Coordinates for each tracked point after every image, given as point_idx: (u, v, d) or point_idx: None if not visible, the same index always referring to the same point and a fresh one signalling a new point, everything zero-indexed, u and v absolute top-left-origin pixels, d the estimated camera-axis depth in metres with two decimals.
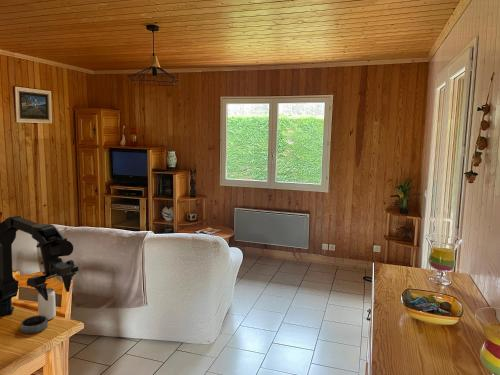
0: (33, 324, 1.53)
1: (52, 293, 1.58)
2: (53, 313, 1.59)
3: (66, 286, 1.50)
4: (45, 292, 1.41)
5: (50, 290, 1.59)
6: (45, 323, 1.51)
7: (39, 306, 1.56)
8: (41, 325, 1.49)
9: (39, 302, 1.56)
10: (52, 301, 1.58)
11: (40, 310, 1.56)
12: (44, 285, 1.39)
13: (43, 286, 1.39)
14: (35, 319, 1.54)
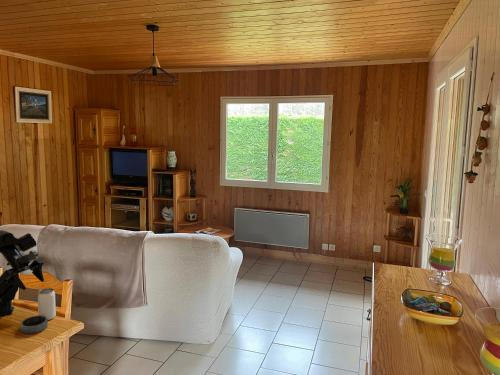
0: (33, 324, 1.53)
1: (52, 293, 1.58)
2: (53, 313, 1.59)
3: (39, 277, 1.64)
4: (20, 282, 1.54)
5: (50, 290, 1.59)
6: (45, 323, 1.51)
7: (39, 306, 1.56)
8: (41, 325, 1.49)
9: (39, 302, 1.56)
10: (52, 301, 1.58)
11: (40, 310, 1.56)
12: (16, 275, 1.53)
13: (16, 276, 1.53)
14: (35, 319, 1.54)
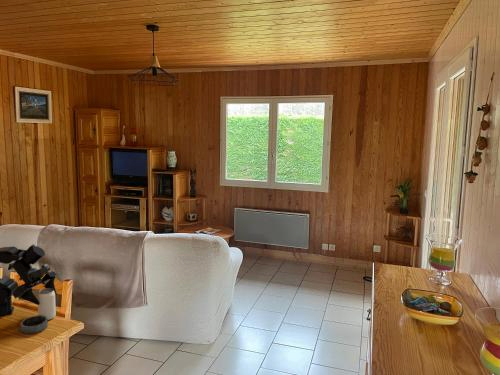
0: (33, 324, 1.53)
1: (52, 293, 1.58)
2: (53, 313, 1.59)
3: None
4: (34, 297, 1.53)
5: (50, 290, 1.59)
6: (45, 323, 1.51)
7: (39, 306, 1.56)
8: (41, 325, 1.49)
9: (39, 302, 1.56)
10: (52, 301, 1.58)
11: (40, 310, 1.56)
12: (30, 290, 1.53)
13: (29, 291, 1.52)
14: (35, 319, 1.54)
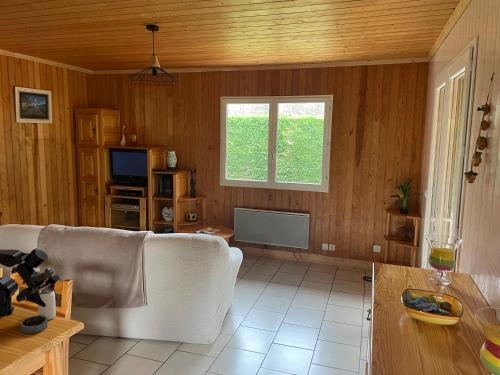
0: (33, 324, 1.53)
1: (51, 293, 1.57)
2: (53, 313, 1.59)
3: None
4: (40, 299, 1.55)
5: (50, 290, 1.59)
6: (45, 323, 1.51)
7: (39, 306, 1.56)
8: (41, 325, 1.49)
9: None
10: (52, 301, 1.58)
11: (40, 310, 1.56)
12: (36, 292, 1.54)
13: (35, 293, 1.54)
14: (35, 319, 1.54)
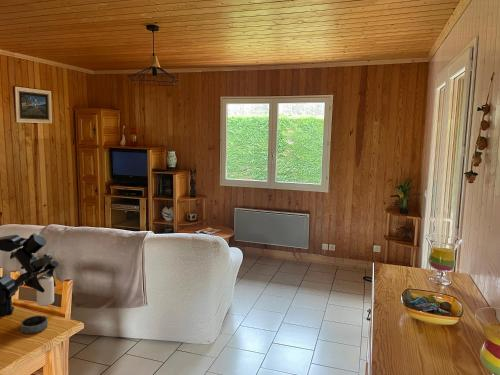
0: (33, 324, 1.53)
1: (50, 278, 1.56)
2: (51, 299, 1.57)
3: None
4: (39, 284, 1.53)
5: (49, 276, 1.58)
6: (45, 323, 1.51)
7: (37, 291, 1.55)
8: (41, 325, 1.49)
9: None
10: (51, 287, 1.56)
11: (38, 295, 1.55)
12: (35, 277, 1.52)
13: (34, 278, 1.52)
14: (35, 319, 1.54)
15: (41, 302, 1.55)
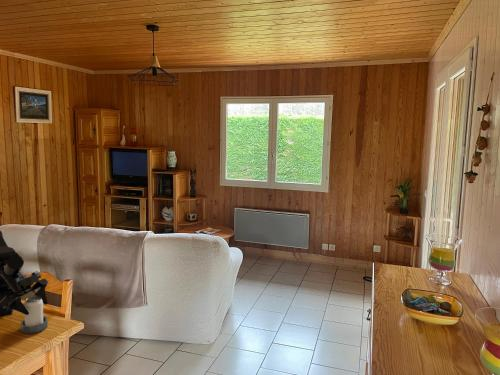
0: None
1: (39, 301, 1.49)
2: (40, 323, 1.50)
3: (43, 300, 1.54)
4: (22, 306, 1.44)
5: (38, 298, 1.50)
6: (45, 323, 1.51)
7: (25, 315, 1.47)
8: (41, 325, 1.49)
9: None
10: (40, 310, 1.49)
11: (26, 319, 1.47)
12: (18, 299, 1.43)
13: (18, 300, 1.43)
14: None
15: None
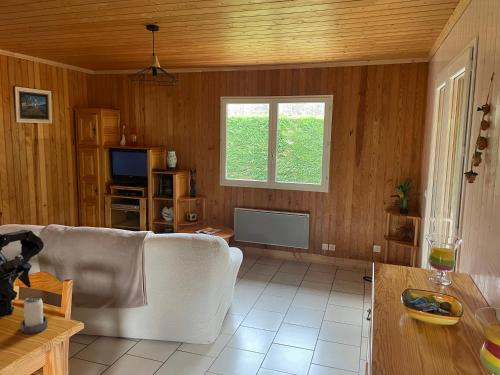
0: None
1: (38, 301, 1.49)
2: (40, 323, 1.50)
3: (26, 283, 1.57)
4: (5, 288, 1.48)
5: (37, 298, 1.50)
6: (45, 323, 1.51)
7: (25, 315, 1.47)
8: (41, 325, 1.49)
9: (25, 311, 1.47)
10: (39, 310, 1.49)
11: (26, 319, 1.47)
12: (1, 281, 1.47)
13: (0, 282, 1.46)
14: None
15: None
